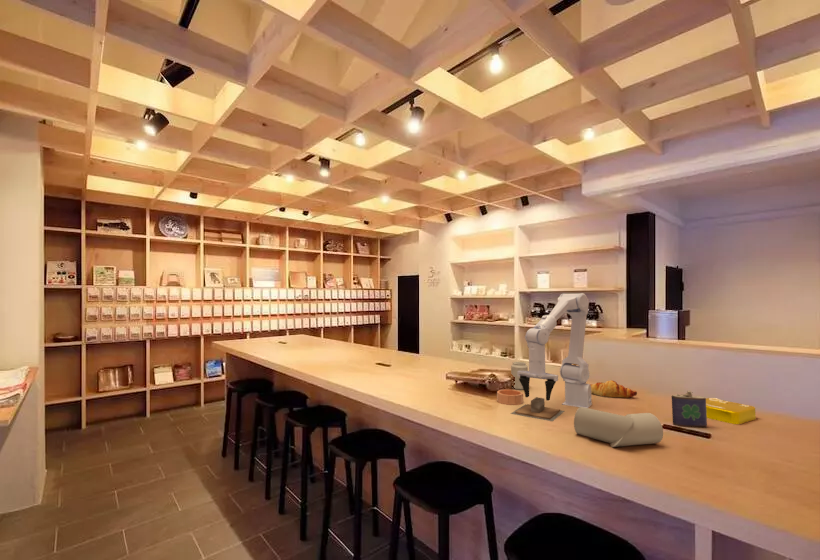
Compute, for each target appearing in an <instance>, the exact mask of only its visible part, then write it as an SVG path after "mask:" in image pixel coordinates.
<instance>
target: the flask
mask: <svg viewBox="0 0 820 560" xmlns="http://www.w3.org/2000/svg"><path fill="white" fill-rule="evenodd" d="M706 398H707V397H705V396H700V395H699V396H697V395H696V396H695V395H693V392H692V391H691V390H687V391H686V393H685V394H683V393H681V394H679V393H676V394H673V395H671V409H672V410H671V414H672V415H671V416H672V425H673V426H676V427H682V428H684V427H685V428H702V429H704V428H708V427H707V426H708V421H707V419H708V418H707V415H706Z"/></svg>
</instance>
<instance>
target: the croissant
mask: <svg viewBox="0 0 820 560" xmlns="http://www.w3.org/2000/svg"><path fill="white" fill-rule="evenodd" d="M589 384H590V383H589ZM590 385H591V395H595V396H599V397H605V398H617V399H618V398H621V399H622V398H624V399H628V398H633V397H634V396H635V397H637V394H638V391H636V390H633V389H631V388H628V387H625V386H623V385H622V384H618V383H617V382H616V381H615V380H612V379H610V380H606V381H605V382H599V381H598V382H596V383H591V384H590Z"/></svg>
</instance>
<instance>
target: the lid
mask: <svg viewBox="0 0 820 560" xmlns="http://www.w3.org/2000/svg"><path fill="white" fill-rule="evenodd" d="M524 405H525V404H524ZM524 405H523V406H524ZM521 407H522V406H521ZM519 408H520V407H519ZM519 408H518V409H519ZM516 410H517V409H516ZM560 410H561V409H559V408H554V407H547V406H545V397H537V396H536V397H534V398H533V399H531V400H530V403H529V404H528V403H526V405H525V406H524V407H522V408H520V409H519V410H517V411H515V410H514V411H515V413H516V414H522V415H527V416H532V417H538V418H543V419H549V420H550V419H551V418H553V417H554V416H555V415H556V414H557V413H559V412H560Z"/></svg>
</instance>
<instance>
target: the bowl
mask: <svg viewBox="0 0 820 560" xmlns="http://www.w3.org/2000/svg"><path fill="white" fill-rule="evenodd" d="M496 400H497V403H499V404H502V405H508V406H519V405H523V403H524V393H523V392H522V391H521V390H517V389H499V390H497V391H496Z"/></svg>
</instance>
